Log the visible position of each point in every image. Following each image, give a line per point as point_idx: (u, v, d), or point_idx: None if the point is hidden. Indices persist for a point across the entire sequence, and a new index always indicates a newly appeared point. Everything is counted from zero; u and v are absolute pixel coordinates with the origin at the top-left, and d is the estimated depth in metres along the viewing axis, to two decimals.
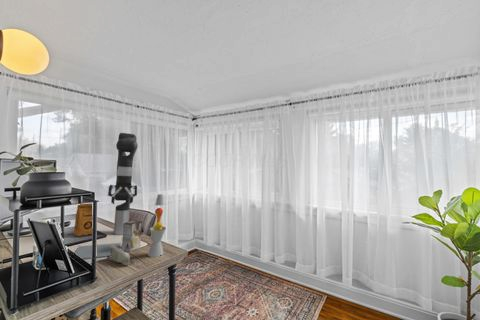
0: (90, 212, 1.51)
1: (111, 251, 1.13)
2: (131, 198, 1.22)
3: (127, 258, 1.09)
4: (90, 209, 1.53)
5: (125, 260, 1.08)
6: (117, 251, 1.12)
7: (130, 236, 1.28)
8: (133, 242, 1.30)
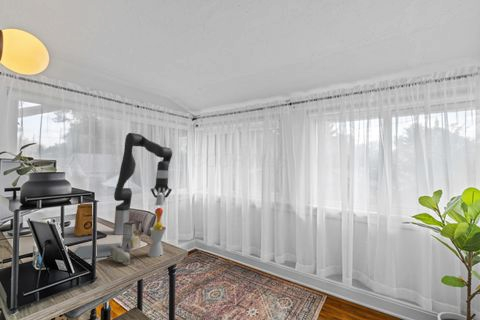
0: (90, 212, 1.51)
1: (111, 251, 1.13)
2: None
3: (127, 257, 1.09)
4: (90, 209, 1.53)
5: (125, 260, 1.09)
6: (117, 251, 1.12)
7: (130, 236, 1.28)
8: (133, 242, 1.30)
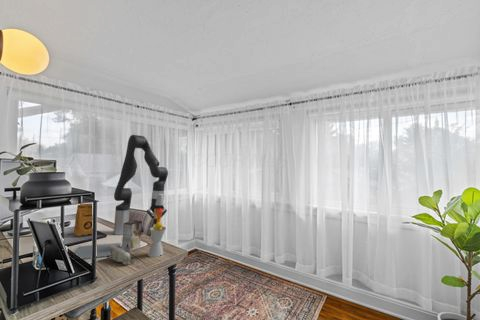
0: (90, 212, 1.51)
1: (111, 251, 1.13)
2: None
3: (128, 257, 1.10)
4: (90, 209, 1.53)
5: (126, 259, 1.09)
6: (117, 251, 1.12)
7: (130, 236, 1.28)
8: (133, 242, 1.30)
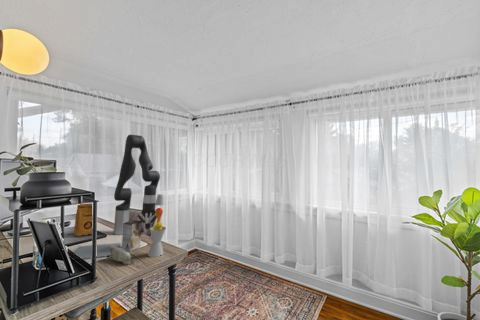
0: (90, 212, 1.51)
1: (111, 250, 1.14)
2: (148, 224, 1.36)
3: (128, 257, 1.10)
4: (90, 209, 1.53)
5: (126, 259, 1.10)
6: (117, 250, 1.13)
7: (130, 236, 1.27)
8: (133, 241, 1.30)
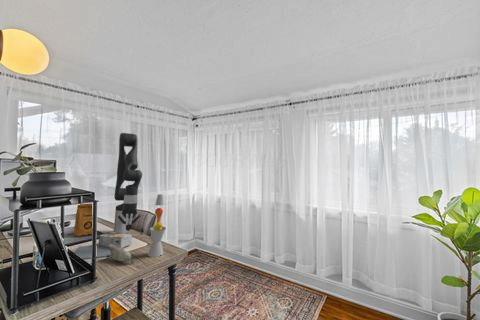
0: (90, 212, 1.51)
1: (111, 250, 1.14)
2: (129, 225, 1.31)
3: (128, 256, 1.11)
4: (90, 209, 1.53)
5: (127, 258, 1.10)
6: (118, 250, 1.13)
7: (108, 237, 1.30)
8: (117, 236, 1.31)
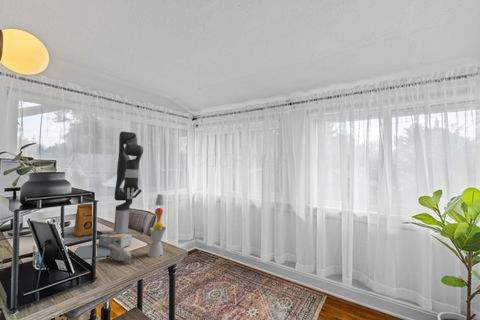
0: (90, 212, 1.51)
1: (111, 250, 1.14)
2: (130, 200, 1.31)
3: (129, 256, 1.11)
4: (90, 209, 1.53)
5: (127, 258, 1.10)
6: (118, 250, 1.13)
7: (108, 237, 1.30)
8: (117, 236, 1.31)
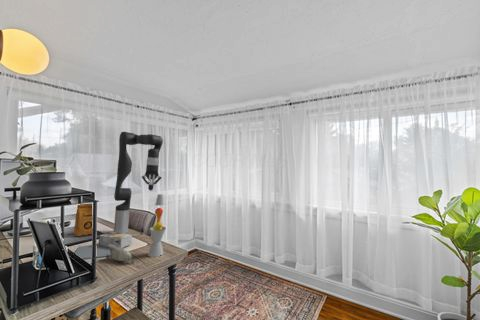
0: (90, 212, 1.51)
1: (111, 250, 1.14)
2: (152, 186, 1.43)
3: (129, 256, 1.11)
4: (90, 209, 1.53)
5: (127, 258, 1.10)
6: (118, 250, 1.13)
7: (108, 237, 1.30)
8: (117, 236, 1.31)
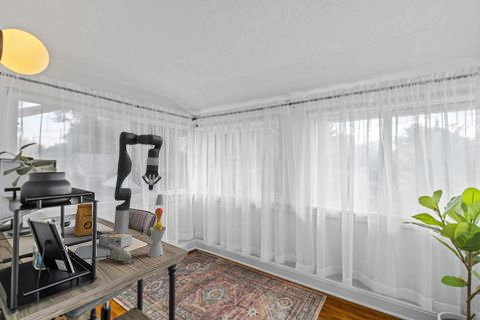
0: (90, 212, 1.51)
1: (111, 250, 1.14)
2: (152, 186, 1.43)
3: (129, 256, 1.11)
4: (90, 209, 1.53)
5: (127, 258, 1.11)
6: (118, 250, 1.13)
7: (108, 237, 1.30)
8: (117, 236, 1.31)
